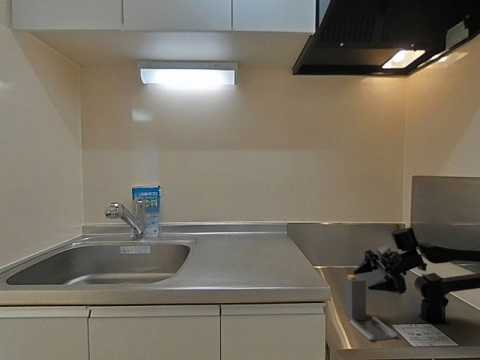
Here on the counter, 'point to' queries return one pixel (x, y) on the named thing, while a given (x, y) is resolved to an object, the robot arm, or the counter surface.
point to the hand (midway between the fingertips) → (360, 280)
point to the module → (355, 297)
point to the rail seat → (373, 329)
